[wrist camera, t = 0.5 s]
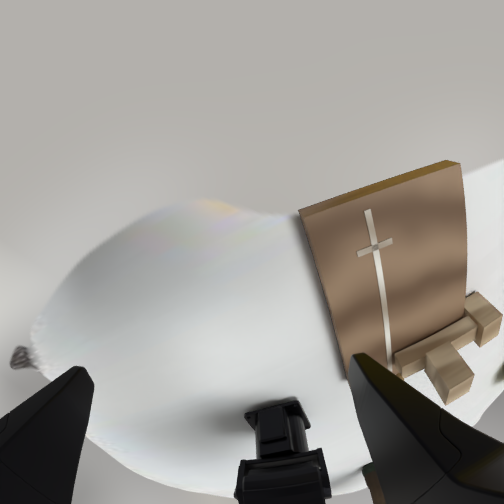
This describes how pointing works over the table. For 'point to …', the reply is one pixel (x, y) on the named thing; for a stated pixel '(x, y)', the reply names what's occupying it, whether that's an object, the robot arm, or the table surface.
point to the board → (392, 260)
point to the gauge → (451, 349)
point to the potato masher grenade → (373, 484)
